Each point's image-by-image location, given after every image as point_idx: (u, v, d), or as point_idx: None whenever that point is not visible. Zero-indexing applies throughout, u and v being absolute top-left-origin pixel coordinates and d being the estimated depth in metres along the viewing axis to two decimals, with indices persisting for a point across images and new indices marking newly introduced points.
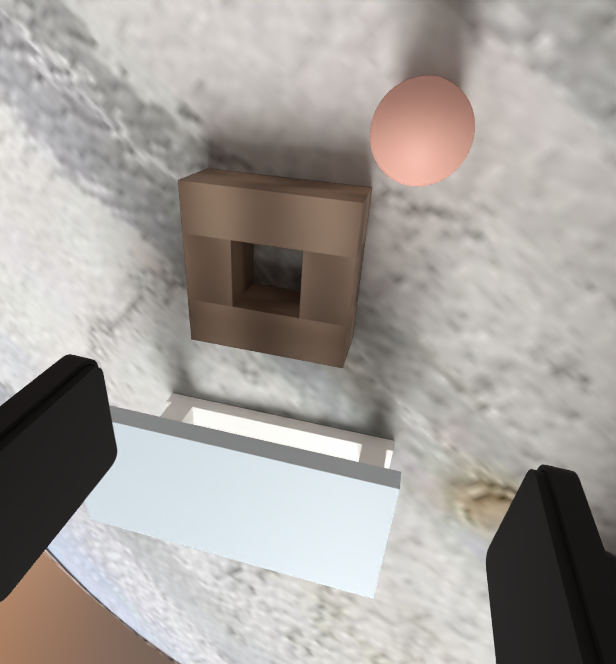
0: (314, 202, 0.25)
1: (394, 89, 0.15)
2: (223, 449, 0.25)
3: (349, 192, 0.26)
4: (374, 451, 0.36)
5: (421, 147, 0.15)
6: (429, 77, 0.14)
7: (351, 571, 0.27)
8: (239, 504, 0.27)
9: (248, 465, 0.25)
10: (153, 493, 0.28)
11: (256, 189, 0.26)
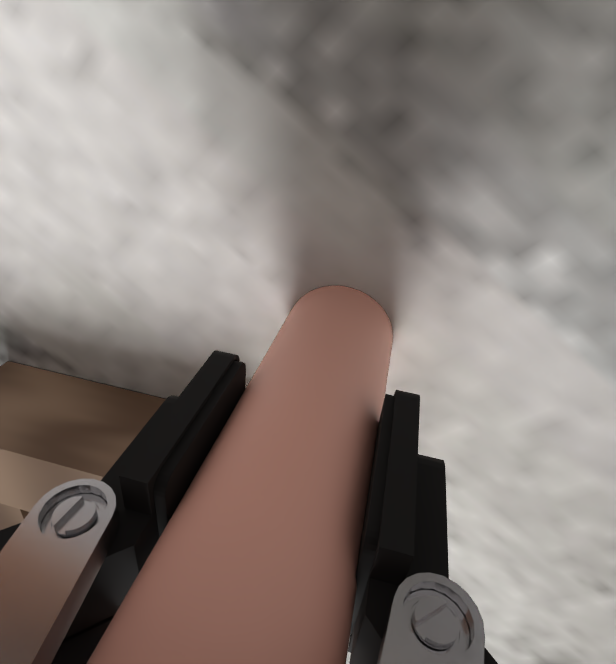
0: None
1: None
2: None
3: None
4: None
5: None
6: None
7: None
8: None
9: None
10: None
11: (42, 456, 0.15)
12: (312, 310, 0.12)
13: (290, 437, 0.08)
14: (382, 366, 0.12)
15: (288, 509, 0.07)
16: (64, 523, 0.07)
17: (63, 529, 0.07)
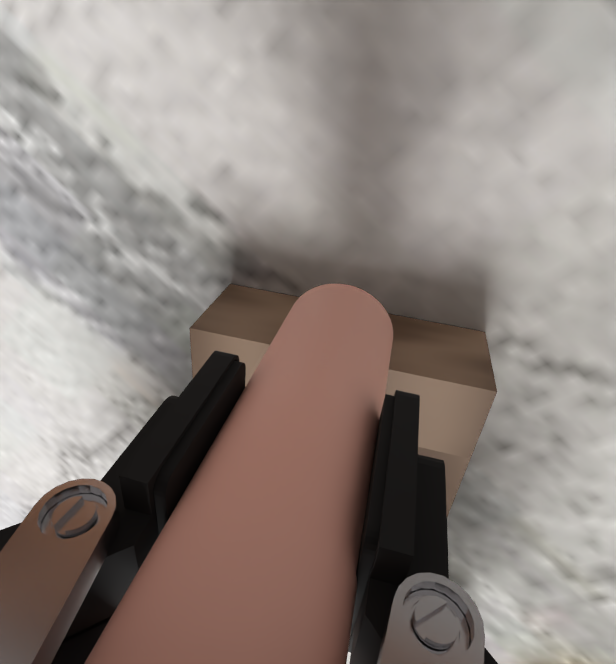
0: (414, 381, 0.15)
1: None
2: None
3: (460, 352, 0.17)
4: None
5: None
6: None
7: None
8: None
9: None
10: None
11: None
12: (312, 307, 0.12)
13: (291, 434, 0.08)
14: (383, 364, 0.12)
15: (288, 506, 0.07)
16: (64, 523, 0.07)
17: (63, 529, 0.07)
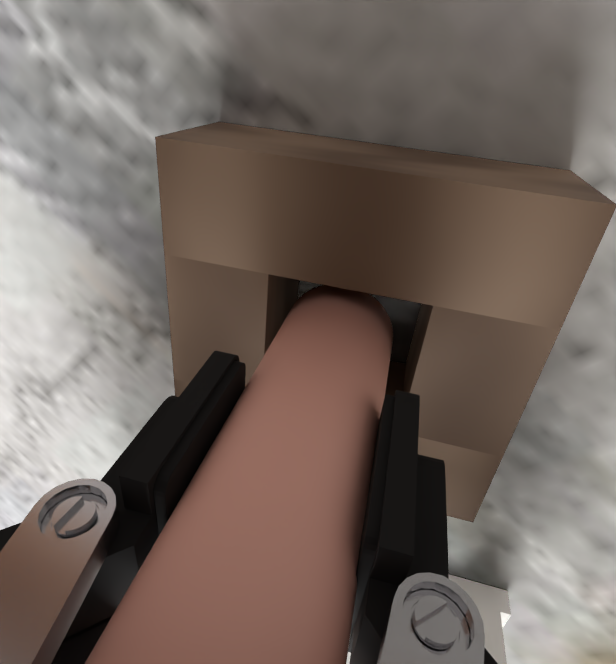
0: (486, 198, 0.10)
1: None
2: None
3: (544, 178, 0.12)
4: (482, 616, 0.22)
5: None
6: None
7: None
8: None
9: None
10: None
11: (340, 163, 0.11)
12: (312, 308, 0.12)
13: (291, 436, 0.08)
14: (382, 364, 0.12)
15: (288, 506, 0.07)
16: (64, 523, 0.07)
17: (63, 529, 0.07)
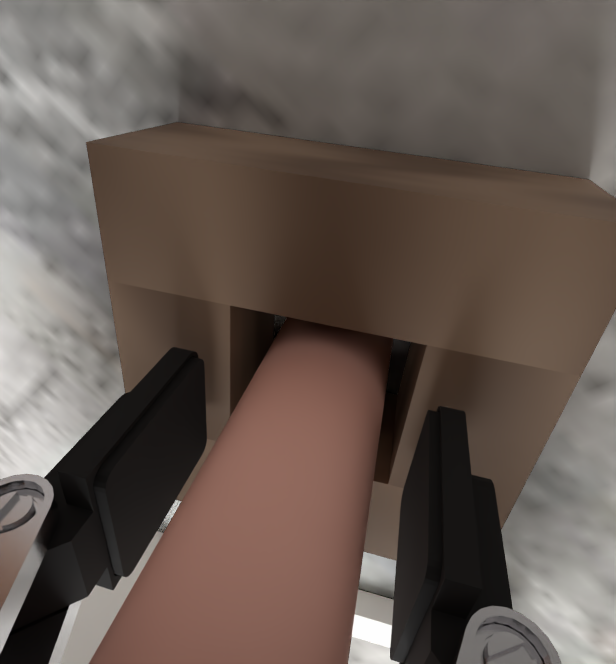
0: (491, 219, 0.08)
1: None
2: None
3: (561, 191, 0.10)
4: None
5: None
6: None
7: None
8: None
9: None
10: None
11: (311, 175, 0.09)
12: None
13: (300, 416, 0.08)
14: (385, 353, 0.12)
15: (299, 479, 0.07)
16: (0, 519, 0.07)
17: None
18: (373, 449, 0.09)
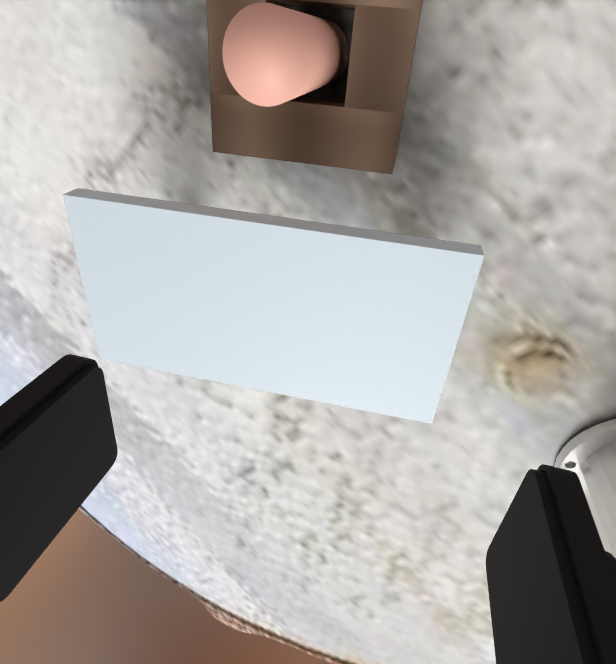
0: None
1: (237, 15, 0.17)
2: (268, 226, 0.21)
3: None
4: None
5: (266, 69, 0.17)
6: (264, 4, 0.16)
7: (410, 387, 0.24)
8: (283, 308, 0.23)
9: (298, 247, 0.21)
10: (178, 308, 0.24)
11: None
12: None
13: None
14: (340, 38, 0.24)
15: (300, 12, 0.20)
16: None
17: None
18: (331, 41, 0.22)
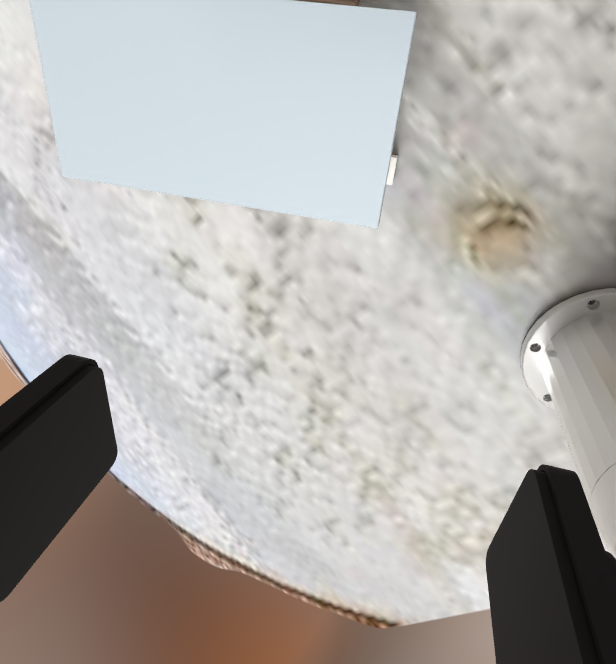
0: None
1: None
2: None
3: None
4: None
5: None
6: None
7: (354, 184, 0.24)
8: (231, 96, 0.24)
9: (242, 18, 0.22)
10: (133, 105, 0.25)
11: None
12: None
13: None
14: None
15: None
16: None
17: None
18: None
